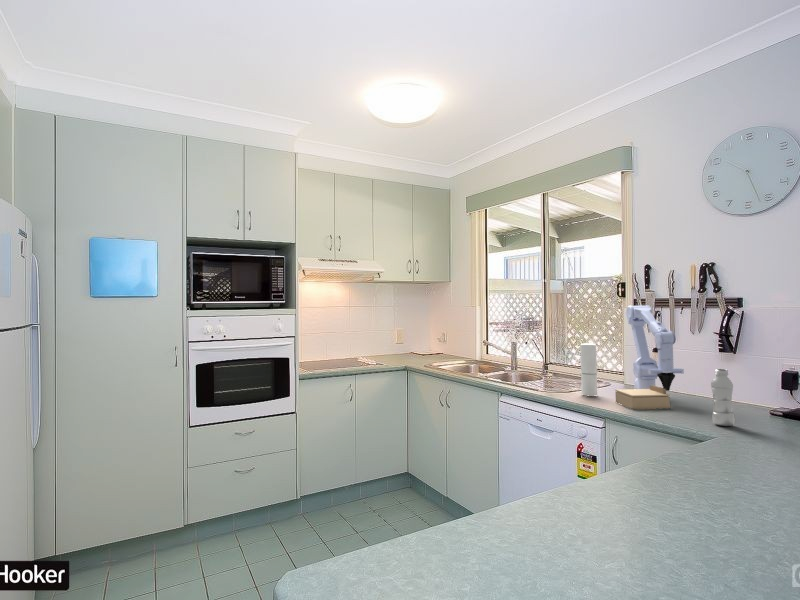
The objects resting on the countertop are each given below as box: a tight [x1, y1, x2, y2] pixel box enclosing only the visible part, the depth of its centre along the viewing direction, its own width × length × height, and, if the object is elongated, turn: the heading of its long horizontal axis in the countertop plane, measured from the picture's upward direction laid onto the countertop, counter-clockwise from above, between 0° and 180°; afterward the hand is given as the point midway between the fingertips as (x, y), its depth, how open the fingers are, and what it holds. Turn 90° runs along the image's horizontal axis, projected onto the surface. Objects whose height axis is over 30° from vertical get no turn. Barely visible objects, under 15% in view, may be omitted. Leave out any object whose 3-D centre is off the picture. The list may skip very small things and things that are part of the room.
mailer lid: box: [614, 385, 671, 397], centre depth 198 cm, size 14×16×3 cm
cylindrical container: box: [579, 343, 598, 396], centre depth 223 cm, size 7×7×25 cm
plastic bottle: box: [710, 368, 736, 427], centre depth 163 cm, size 6×7×20 cm
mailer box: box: [615, 391, 671, 410], centre depth 198 cm, size 14×16×5 cm
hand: (666, 390), depth 198 cm, fingers closed
